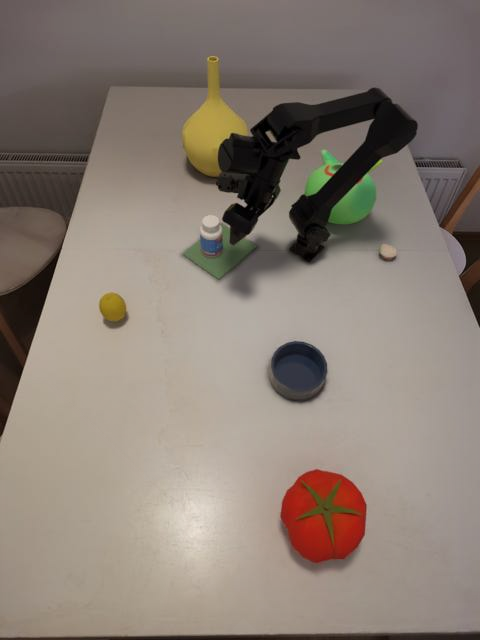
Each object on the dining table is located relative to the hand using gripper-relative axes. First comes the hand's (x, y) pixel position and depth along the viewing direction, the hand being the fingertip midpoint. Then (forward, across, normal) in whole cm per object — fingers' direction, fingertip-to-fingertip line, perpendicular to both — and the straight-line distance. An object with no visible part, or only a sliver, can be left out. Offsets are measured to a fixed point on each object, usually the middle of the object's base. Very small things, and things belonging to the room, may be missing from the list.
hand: (239, 233), depth 95 cm
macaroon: (-1, -22, +33) cm, 39 cm away
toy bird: (+1, -31, +17) cm, 35 cm away
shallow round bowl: (+11, +18, +26) cm, 33 cm away
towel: (+12, -6, -4) cm, 14 cm away
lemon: (+22, +21, -15) cm, 33 cm away
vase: (+9, -35, -20) cm, 41 cm away
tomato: (+14, +42, +39) cm, 59 cm away
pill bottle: (+12, -5, -6) cm, 14 cm away
